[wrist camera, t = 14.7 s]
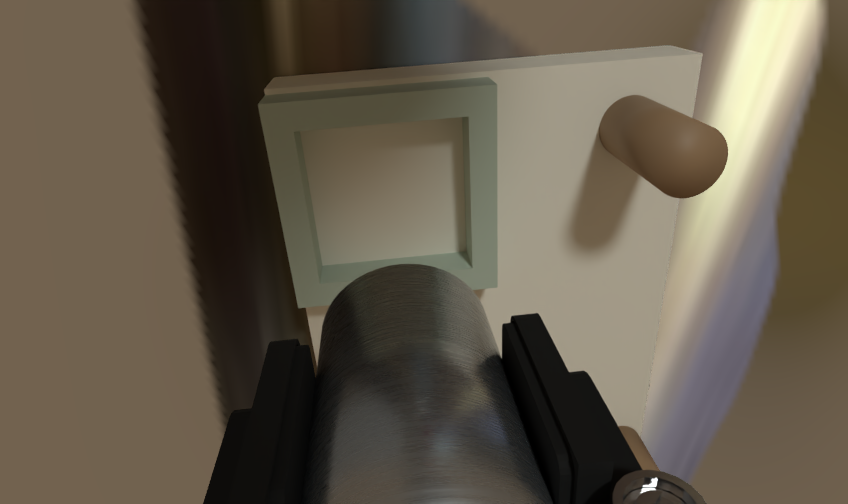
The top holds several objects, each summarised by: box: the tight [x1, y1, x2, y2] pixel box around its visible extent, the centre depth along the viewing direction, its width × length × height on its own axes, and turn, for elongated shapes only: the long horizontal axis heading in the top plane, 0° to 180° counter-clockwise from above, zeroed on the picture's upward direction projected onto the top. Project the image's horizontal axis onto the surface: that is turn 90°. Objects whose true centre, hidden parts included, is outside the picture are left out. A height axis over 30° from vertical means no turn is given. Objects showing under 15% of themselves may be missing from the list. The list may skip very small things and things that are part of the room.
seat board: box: [258, 45, 728, 471], centre depth 25 cm, size 28×18×7 cm, turn 4°
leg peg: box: [301, 264, 554, 504], centre depth 10 cm, size 4×4×8 cm
